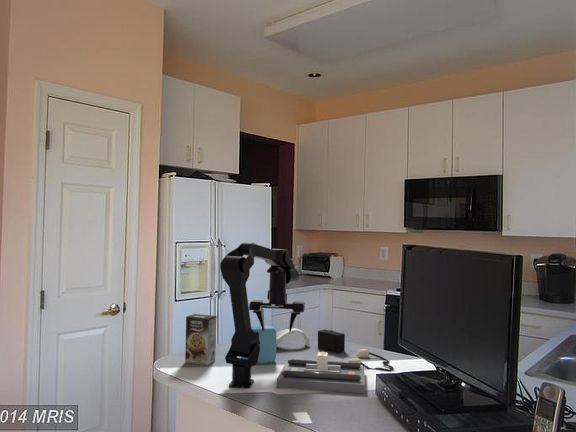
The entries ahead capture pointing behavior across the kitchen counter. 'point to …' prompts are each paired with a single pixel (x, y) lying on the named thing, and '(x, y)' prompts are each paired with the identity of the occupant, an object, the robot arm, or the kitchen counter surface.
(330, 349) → the digital camera
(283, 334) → the spoon rest
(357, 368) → the panel
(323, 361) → the knob
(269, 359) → the data package
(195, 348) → the coffee box
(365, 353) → the cable
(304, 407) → the kitchen counter surface
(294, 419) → the kitchen counter surface
